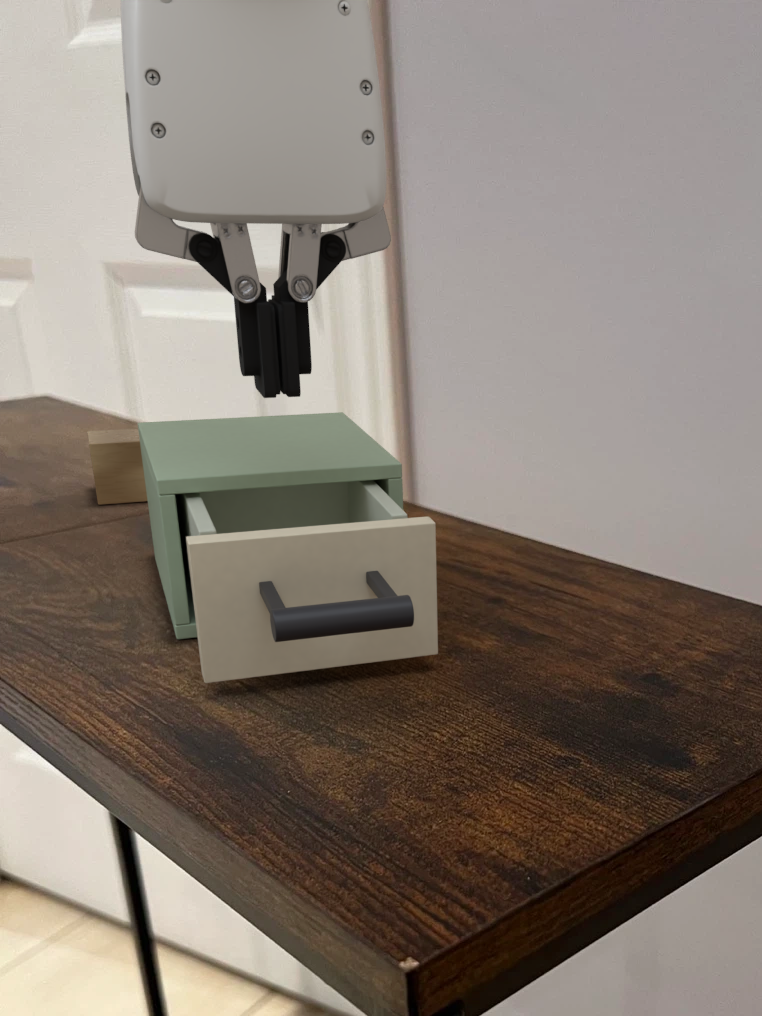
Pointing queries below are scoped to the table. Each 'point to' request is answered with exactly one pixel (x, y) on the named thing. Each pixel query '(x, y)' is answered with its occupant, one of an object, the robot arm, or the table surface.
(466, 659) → the table surface
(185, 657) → the table surface
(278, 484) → the cabinet
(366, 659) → the drawer
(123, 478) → the block
